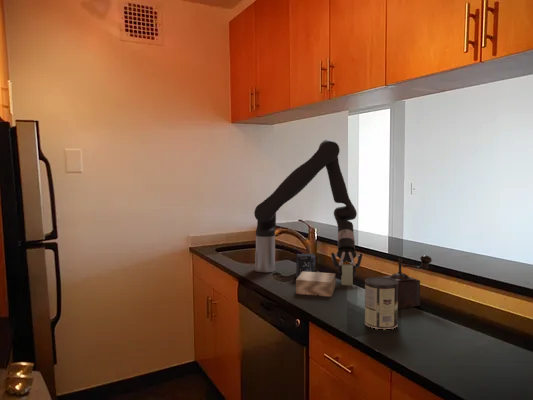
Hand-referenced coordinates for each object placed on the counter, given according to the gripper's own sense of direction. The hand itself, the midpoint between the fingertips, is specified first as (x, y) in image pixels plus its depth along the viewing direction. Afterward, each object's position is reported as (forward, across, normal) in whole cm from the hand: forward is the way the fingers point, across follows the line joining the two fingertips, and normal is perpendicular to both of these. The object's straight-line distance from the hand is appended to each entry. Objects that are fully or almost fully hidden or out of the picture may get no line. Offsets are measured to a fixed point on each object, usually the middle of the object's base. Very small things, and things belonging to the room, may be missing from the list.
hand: (347, 274), depth 177 cm
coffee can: (+35, +8, -28) cm, 45 cm away
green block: (+2, 0, +4) cm, 5 cm away
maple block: (+10, -13, -3) cm, 17 cm away
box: (-4, -18, +10) cm, 21 cm away
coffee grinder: (+18, +20, -12) cm, 29 cm away
